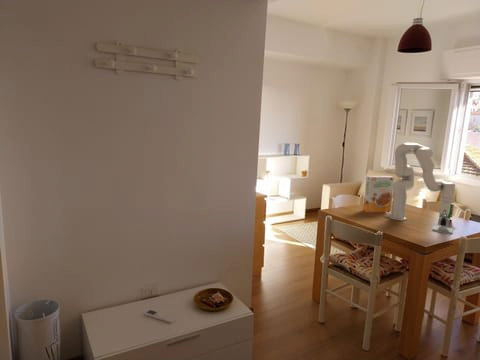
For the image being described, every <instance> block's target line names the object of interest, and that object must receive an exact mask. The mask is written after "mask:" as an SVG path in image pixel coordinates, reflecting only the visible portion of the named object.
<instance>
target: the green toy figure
mask: <svg viewBox="0 0 480 360" xmlns="http://www.w3.org/2000/svg"><path fill="white" fill-rule="evenodd" d="M441 205H442V202H441V201H440V206H441ZM454 207H455V205H454V204H453V203H451V205H450V210H449V214H448V216H447V218H449V219H450V221H449V225H450V224H451V225H452V222H453V219H451V218H453V213H454V209H455V208H454ZM439 209H440V210H439V212H440V211H441V207H440V208H439ZM439 217H442V215H441V216H440V213H439V215H438V218H439ZM438 221H439V219H438Z"/></svg>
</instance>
